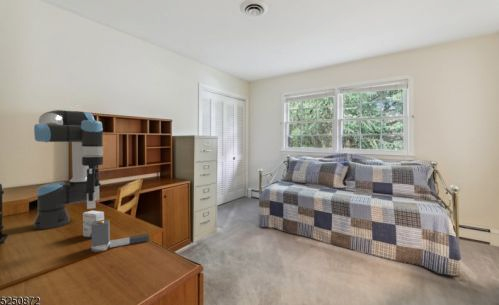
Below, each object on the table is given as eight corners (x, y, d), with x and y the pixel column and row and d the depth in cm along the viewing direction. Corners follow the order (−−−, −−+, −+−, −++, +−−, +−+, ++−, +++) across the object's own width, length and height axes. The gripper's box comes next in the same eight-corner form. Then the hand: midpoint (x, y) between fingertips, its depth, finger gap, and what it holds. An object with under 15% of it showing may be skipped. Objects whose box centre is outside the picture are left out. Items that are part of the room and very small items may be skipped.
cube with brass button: (93, 241, 99) (93, 220, 98) (109, 238, 101) (109, 218, 101) (91, 246, 93) (91, 225, 93) (108, 243, 96) (108, 222, 96)
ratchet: (90, 253, 93) (90, 238, 92) (93, 246, 99) (92, 232, 99) (149, 242, 103) (148, 228, 103) (148, 236, 109) (148, 223, 109)
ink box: (105, 234, 112) (104, 211, 112) (95, 238, 108) (95, 214, 107) (92, 232, 115) (91, 209, 114) (82, 236, 110) (82, 212, 109)
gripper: (86, 154, 106) (87, 198, 107) (75, 158, 84) (77, 213, 85) (105, 154, 109) (106, 196, 110) (99, 158, 87) (100, 211, 89)
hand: (93, 204), depth 98 cm, fingers open, 13 cm apart
